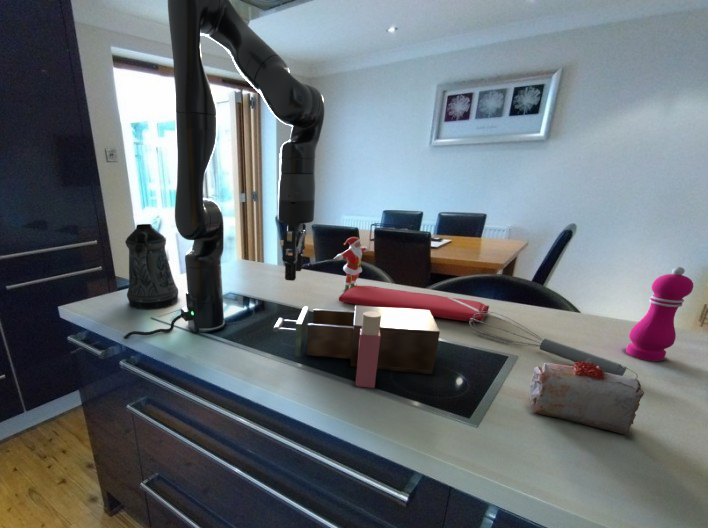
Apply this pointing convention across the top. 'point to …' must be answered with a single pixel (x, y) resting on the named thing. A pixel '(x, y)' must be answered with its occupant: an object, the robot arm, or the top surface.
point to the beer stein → (149, 270)
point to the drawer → (322, 332)
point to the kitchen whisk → (563, 350)
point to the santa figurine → (352, 261)
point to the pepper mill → (660, 317)
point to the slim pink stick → (368, 350)
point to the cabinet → (401, 339)
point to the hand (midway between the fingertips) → (293, 275)
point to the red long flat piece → (416, 302)
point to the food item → (586, 395)
